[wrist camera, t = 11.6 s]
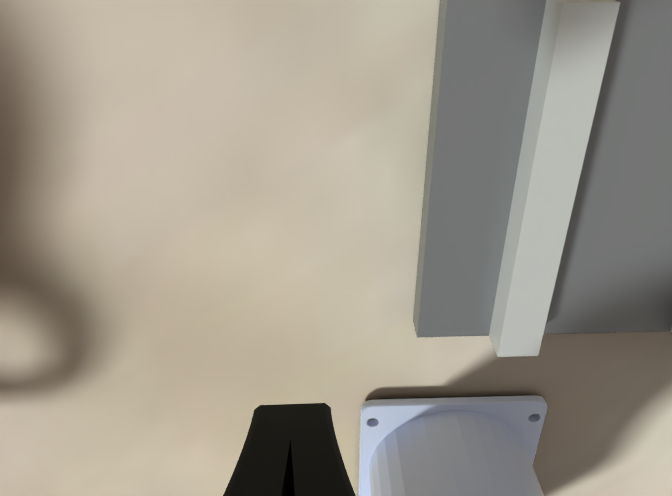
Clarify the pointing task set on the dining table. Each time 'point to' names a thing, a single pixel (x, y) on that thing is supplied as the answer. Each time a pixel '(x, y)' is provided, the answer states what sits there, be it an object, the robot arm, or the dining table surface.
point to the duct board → (548, 172)
